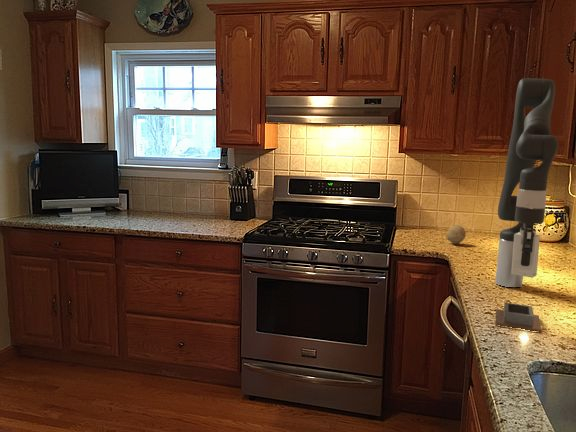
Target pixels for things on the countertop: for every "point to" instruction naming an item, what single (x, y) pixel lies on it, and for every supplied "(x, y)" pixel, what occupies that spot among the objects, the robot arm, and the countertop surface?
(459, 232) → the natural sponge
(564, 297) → the countertop surface
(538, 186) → the robot arm
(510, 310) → the collar
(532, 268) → the skincare box
